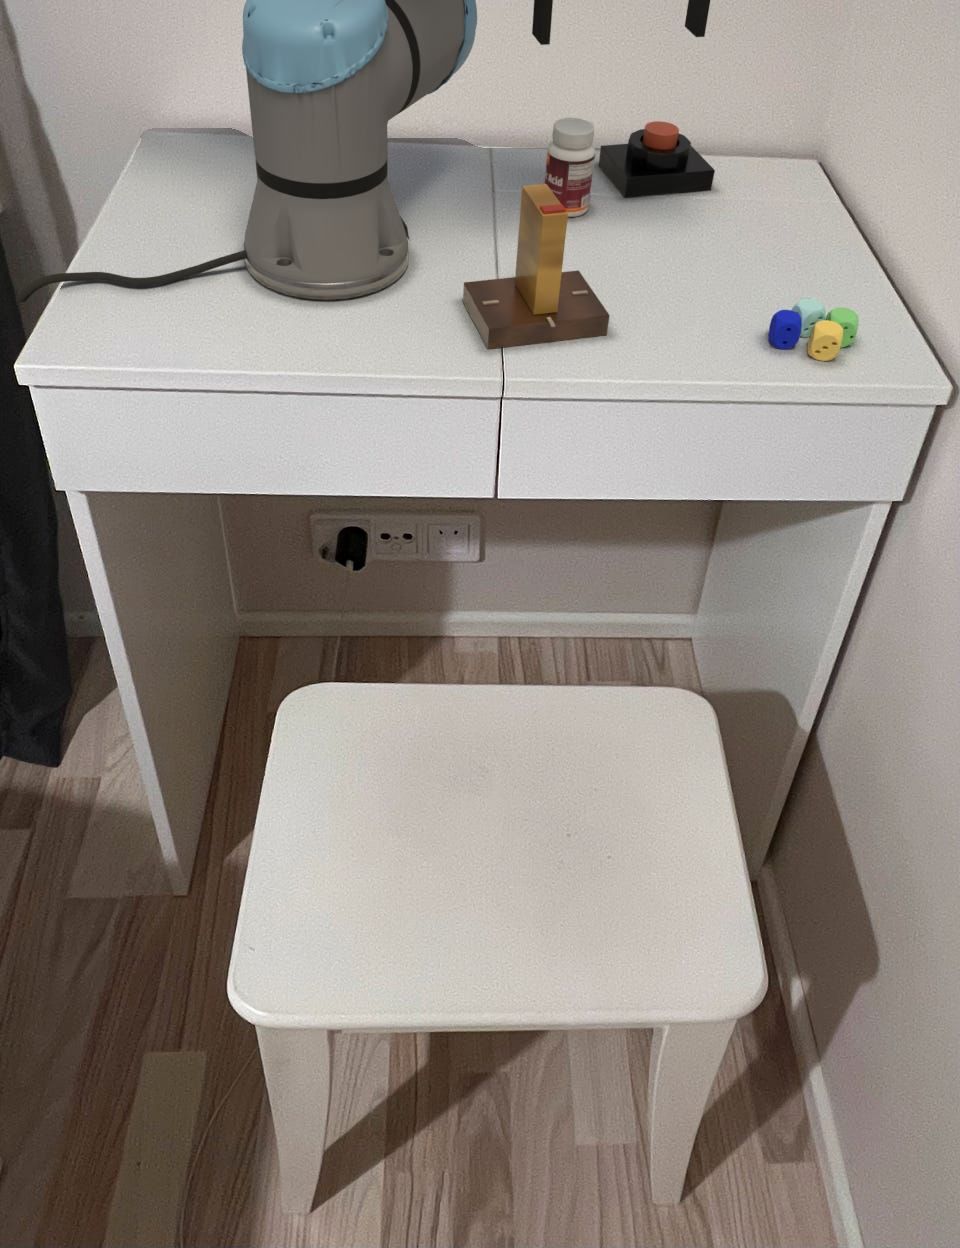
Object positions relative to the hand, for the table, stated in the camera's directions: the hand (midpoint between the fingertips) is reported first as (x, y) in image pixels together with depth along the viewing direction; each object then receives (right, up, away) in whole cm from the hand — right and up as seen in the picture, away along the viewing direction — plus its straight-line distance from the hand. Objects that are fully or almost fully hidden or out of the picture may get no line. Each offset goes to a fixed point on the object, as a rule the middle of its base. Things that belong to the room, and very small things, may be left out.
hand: (618, 35), depth 94 cm
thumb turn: (-7, -21, +5) cm, 22 cm away
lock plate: (-7, -22, +6) cm, 24 cm away
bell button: (+7, +2, +25) cm, 26 cm away
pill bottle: (-3, -6, +22) cm, 23 cm away
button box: (+7, -1, +28) cm, 29 cm away
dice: (+17, -21, +7) cm, 28 cm away
